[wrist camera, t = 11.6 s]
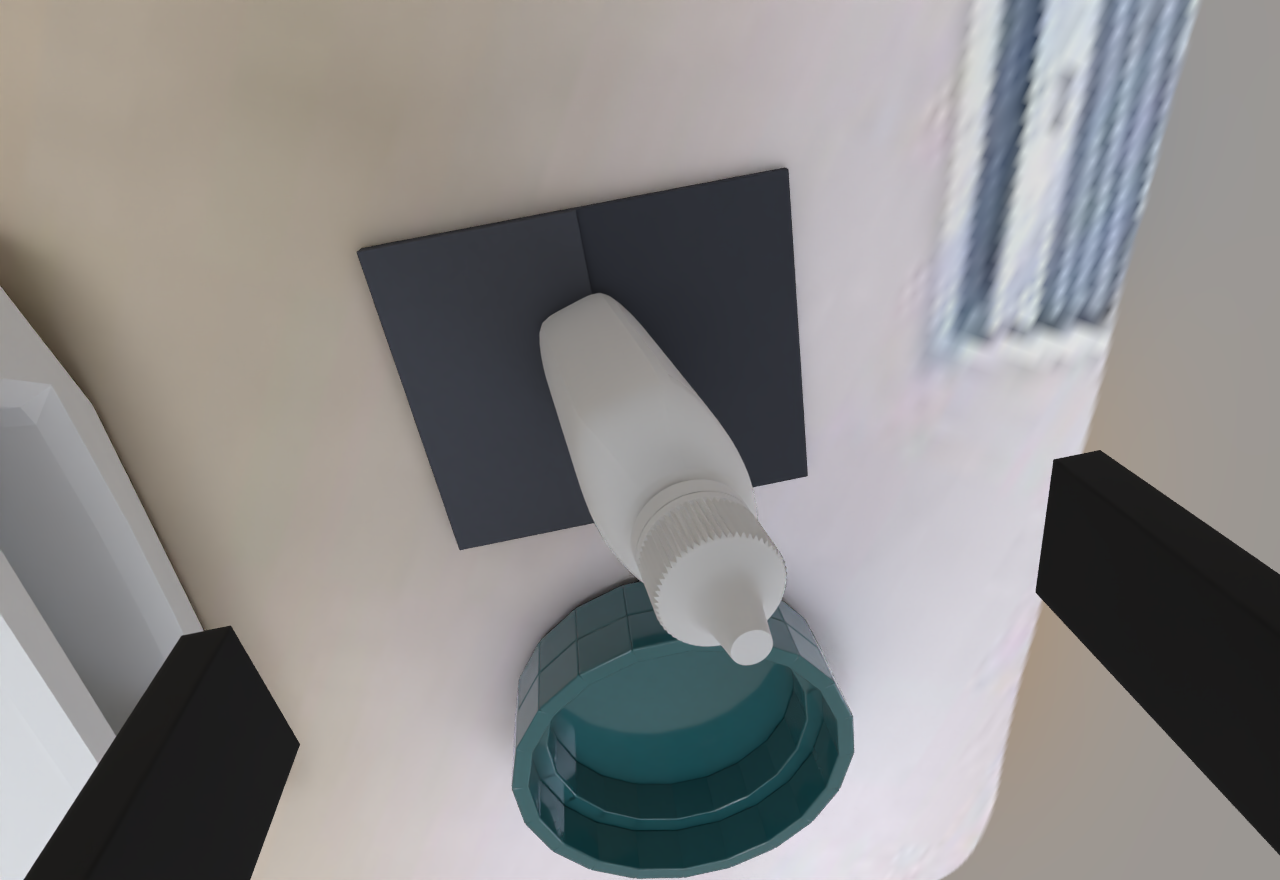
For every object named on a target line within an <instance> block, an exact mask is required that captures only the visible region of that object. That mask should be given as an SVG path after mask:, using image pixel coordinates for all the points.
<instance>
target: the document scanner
mask: <svg viewBox="0 0 1280 880" xmlns="http://www.w3.org/2000/svg"><path fill="white" fill-rule="evenodd" d="M202 631H204V630H203V628H202V626H201V624H200V622H199V620H198V618H197V616H196V614H195V612H194V610H193V608H192V606H191V604H190V602H189V600H188V598H187V596H186V594H185V592H184V590H183V587H182V585H181V583H180V581H179V579H178V577H177V575H176V573H175V571H174V569H173V567H172V565H171V563H170V561H169V559H168V557H167V555H166V553H165V551H164V549H163V547H162V545H161V543H160V541H159V539H158V536H157V534H156V532H155V530H154V528H153V526H152V524H151V522H150V520H149V518H148V516H147V514H146V512H145V510H144V508H143V506H142V504H141V502H140V500H139V498H138V496H137V494H136V492H135V490H134V488H133V486H132V484H131V482H130V480H129V478H128V476H127V474H126V472H125V470H124V468H123V466H122V464H121V462H120V460H119V457H118V455H117V453H116V451H115V449H114V447H113V445H112V443H111V441H110V439H109V437H108V435H107V433H106V431H105V429H104V427H103V425H102V423H101V421H100V419H99V417H98V415H97V413H96V411H95V409H94V407H93V405H92V404H91V402H90V401H89V400H88V399H87V397H86V396H85V395H84V393H83V392H82V391H81V390H80V388H79V387H78V386H77V384H76V383H75V382H74V381H73V379H72V378H71V377H70V375H69V374H68V373H67V371H66V370H65V369H64V368H63V366H62V365H61V364H60V362H59V361H58V360H57V359H56V357H55V356H54V355H53V353H52V352H51V351H50V350H49V348H48V347H47V346H46V344H45V343H44V342H43V341H42V339H41V338H40V337H39V335H38V334H37V333H36V331H35V330H34V329H33V328H32V326H31V325H30V324H29V322H28V321H27V320H26V319H25V317H24V316H23V315H22V313H21V312H20V311H19V310H18V308H17V307H16V306H15V304H14V303H13V302H12V301H11V299H10V298H9V297H8V295H7V294H6V293H5V291H4V290H3V289H2V288H1V286H0V880H24V878H25V876H26V875H27V873H28V872H29V870H30V869H31V867H32V866H33V864H34V863H35V861H36V859H37V858H38V856H39V855H40V853H41V852H42V850H43V849H44V847H45V846H46V844H47V842H48V841H49V839H50V838H51V836H52V835H53V833H54V832H55V830H56V829H57V827H58V825H59V824H60V822H61V821H62V819H63V818H64V816H65V815H66V813H67V812H68V810H69V808H70V807H71V805H72V804H73V802H74V801H75V799H76V798H77V796H78V795H79V793H80V791H81V790H82V788H83V787H84V785H85V784H86V782H87V781H88V779H89V778H90V776H91V774H92V773H93V771H94V770H95V768H96V767H97V765H98V764H99V762H100V761H101V759H102V757H103V756H104V754H105V753H106V751H107V750H108V748H109V747H110V745H111V744H112V742H113V740H114V739H115V737H116V736H117V734H118V733H119V731H120V730H121V728H122V727H123V725H124V723H125V722H126V720H127V719H128V717H129V716H130V714H131V713H132V711H133V710H134V708H135V706H136V705H137V703H138V702H139V700H140V699H141V697H142V696H143V694H144V693H145V691H146V689H147V688H148V686H149V685H150V683H151V682H152V680H153V679H154V677H155V676H156V674H157V672H158V671H159V669H160V668H161V666H162V665H163V663H164V662H165V660H166V659H167V657H168V655H169V654H170V652H171V651H172V649H173V648H174V646H175V645H176V643H177V642H178V640H179V638H180V637H181V636H182V635H187V634H192V633H197V632H202Z"/></svg>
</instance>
